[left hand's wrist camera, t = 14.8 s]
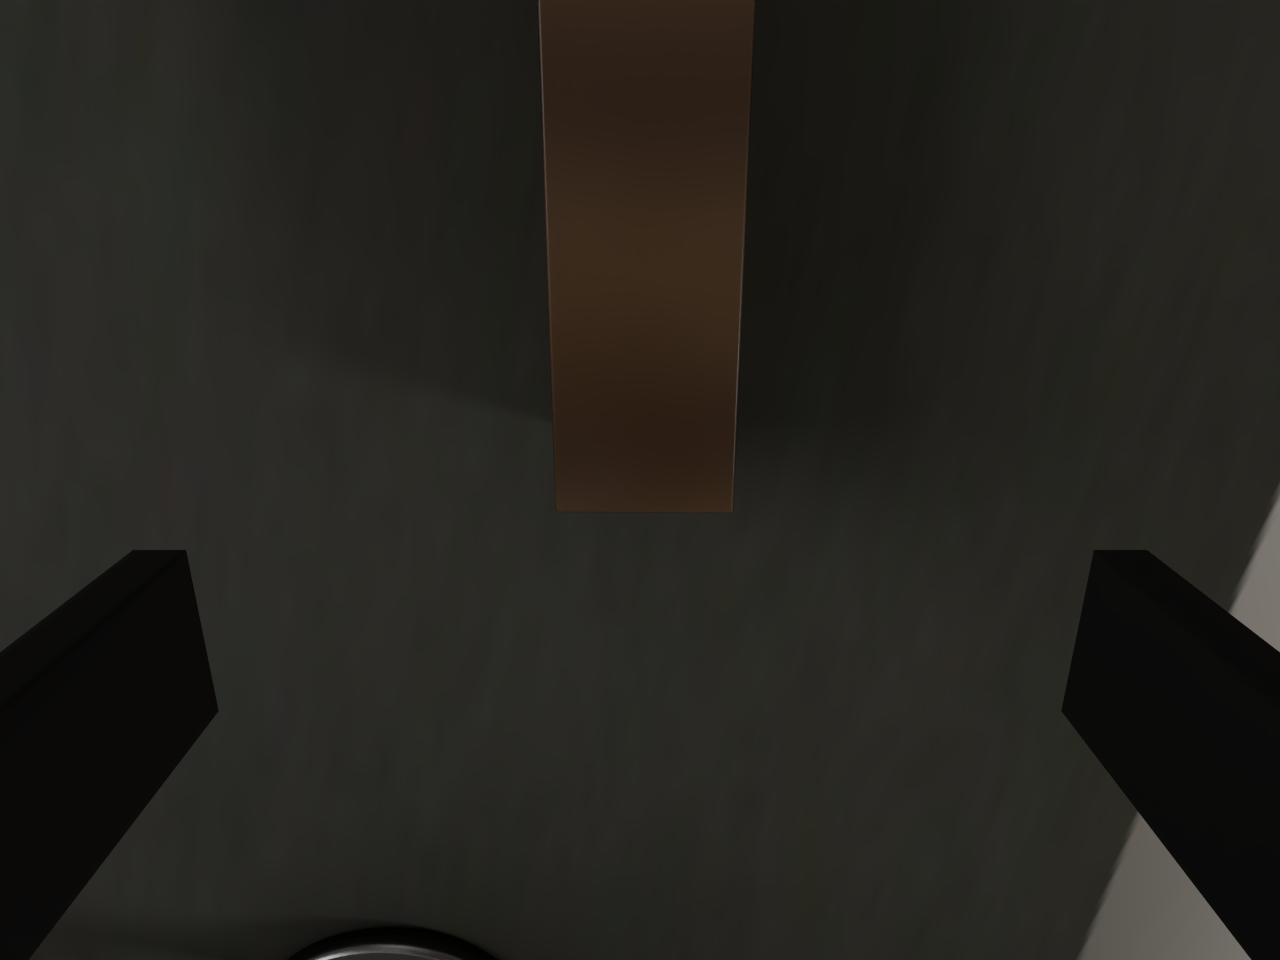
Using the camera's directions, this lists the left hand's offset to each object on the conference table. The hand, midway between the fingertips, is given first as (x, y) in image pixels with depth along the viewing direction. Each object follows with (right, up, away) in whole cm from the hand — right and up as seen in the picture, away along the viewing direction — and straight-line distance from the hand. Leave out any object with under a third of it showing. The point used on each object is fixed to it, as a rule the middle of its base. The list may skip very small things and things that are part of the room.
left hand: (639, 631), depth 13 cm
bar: (0, +15, +17) cm, 23 cm away
